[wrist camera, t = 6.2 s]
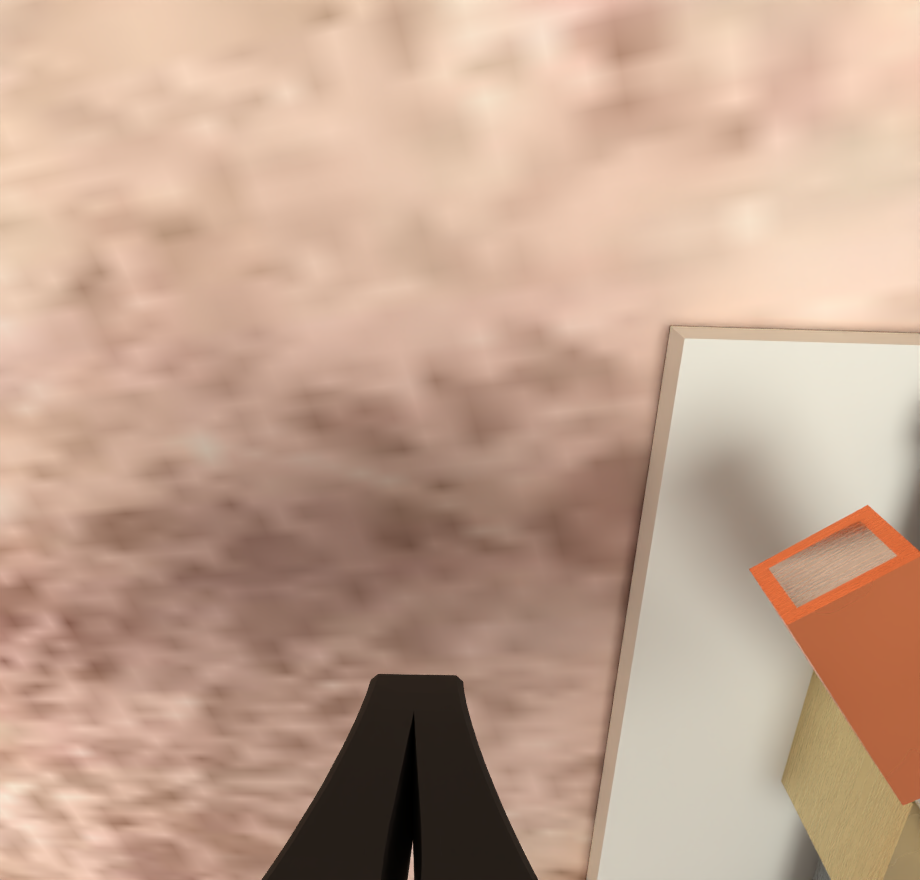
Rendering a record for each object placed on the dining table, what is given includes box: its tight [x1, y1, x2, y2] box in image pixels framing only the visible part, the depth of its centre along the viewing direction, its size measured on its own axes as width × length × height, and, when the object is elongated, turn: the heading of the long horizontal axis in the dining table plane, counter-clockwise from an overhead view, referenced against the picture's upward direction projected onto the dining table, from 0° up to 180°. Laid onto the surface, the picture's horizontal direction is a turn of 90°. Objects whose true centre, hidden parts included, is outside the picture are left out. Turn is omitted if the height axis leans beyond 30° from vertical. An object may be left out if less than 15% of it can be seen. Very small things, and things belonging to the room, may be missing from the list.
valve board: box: [586, 326, 920, 880], centre depth 19 cm, size 20×14×1 cm
